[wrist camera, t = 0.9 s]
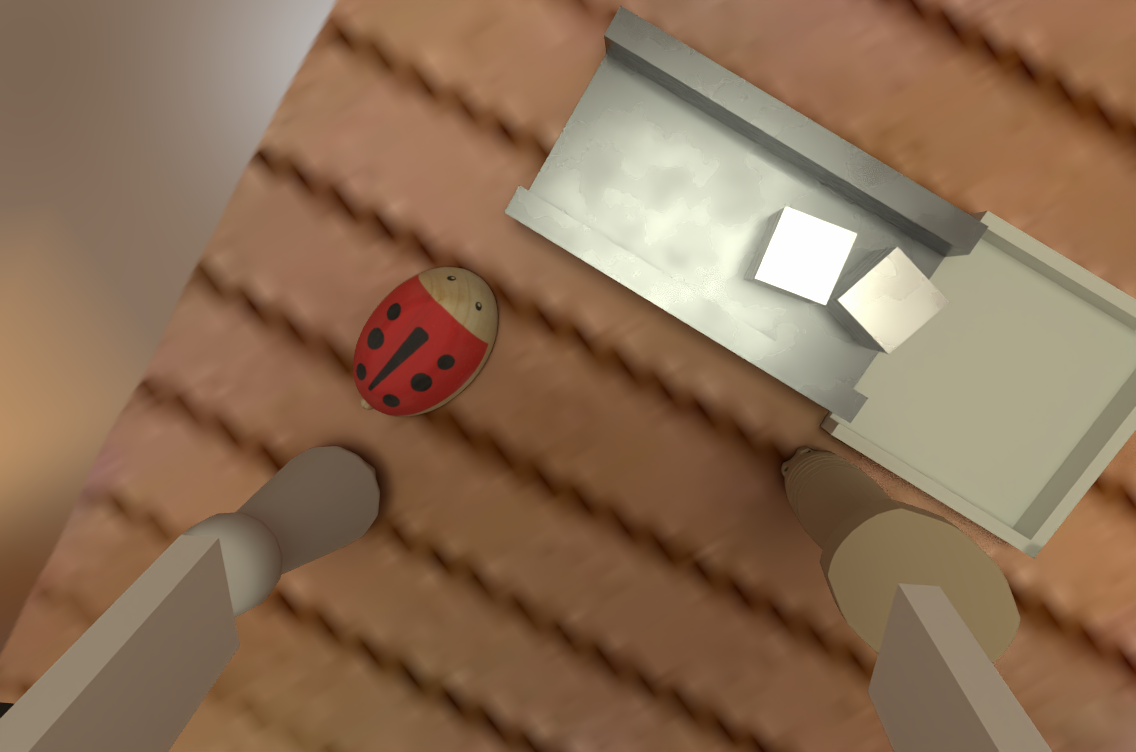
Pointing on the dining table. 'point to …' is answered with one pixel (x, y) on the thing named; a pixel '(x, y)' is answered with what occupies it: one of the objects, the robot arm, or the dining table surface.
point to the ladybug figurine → (425, 342)
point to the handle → (893, 552)
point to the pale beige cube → (800, 256)
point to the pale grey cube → (884, 300)
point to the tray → (1005, 388)
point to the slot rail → (724, 204)
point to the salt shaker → (293, 521)
